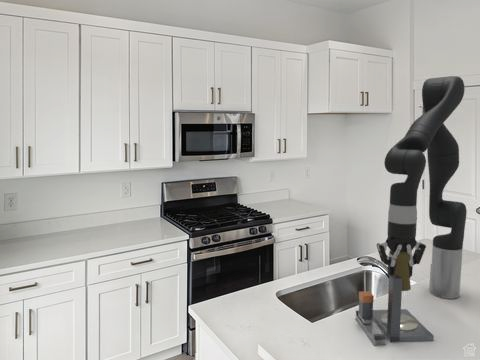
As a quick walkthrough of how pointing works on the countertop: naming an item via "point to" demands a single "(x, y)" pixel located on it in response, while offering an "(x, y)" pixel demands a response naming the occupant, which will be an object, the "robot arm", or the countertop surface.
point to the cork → (403, 269)
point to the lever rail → (372, 332)
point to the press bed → (399, 318)
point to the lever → (366, 307)
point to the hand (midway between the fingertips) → (399, 277)
